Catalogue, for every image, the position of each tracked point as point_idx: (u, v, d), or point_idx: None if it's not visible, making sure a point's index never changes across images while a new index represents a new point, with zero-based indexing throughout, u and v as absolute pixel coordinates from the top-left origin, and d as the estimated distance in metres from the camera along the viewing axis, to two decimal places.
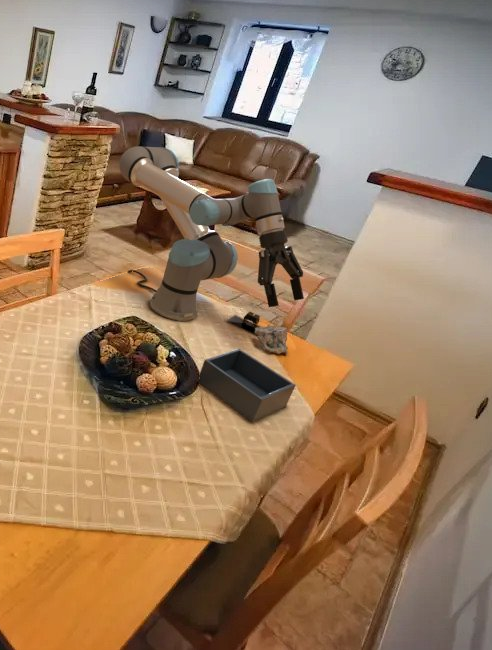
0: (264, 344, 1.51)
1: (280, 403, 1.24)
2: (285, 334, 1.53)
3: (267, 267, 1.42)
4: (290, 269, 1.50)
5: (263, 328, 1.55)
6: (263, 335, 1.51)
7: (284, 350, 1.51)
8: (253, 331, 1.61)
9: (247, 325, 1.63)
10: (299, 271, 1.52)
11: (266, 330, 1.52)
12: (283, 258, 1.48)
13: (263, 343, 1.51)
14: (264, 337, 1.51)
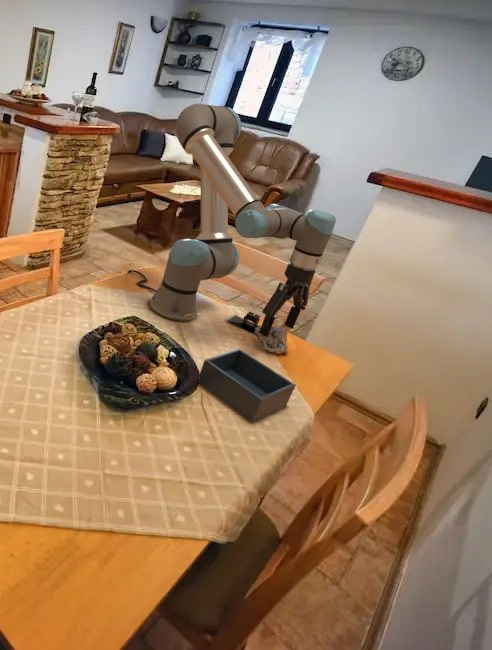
0: (264, 344, 1.51)
1: (280, 403, 1.24)
2: (285, 334, 1.53)
3: (278, 303, 1.41)
4: (297, 300, 1.50)
5: None
6: (263, 335, 1.51)
7: (284, 350, 1.51)
8: (253, 331, 1.61)
9: (247, 325, 1.63)
10: (304, 303, 1.52)
11: None
12: (297, 292, 1.46)
13: (263, 343, 1.51)
14: (264, 337, 1.51)
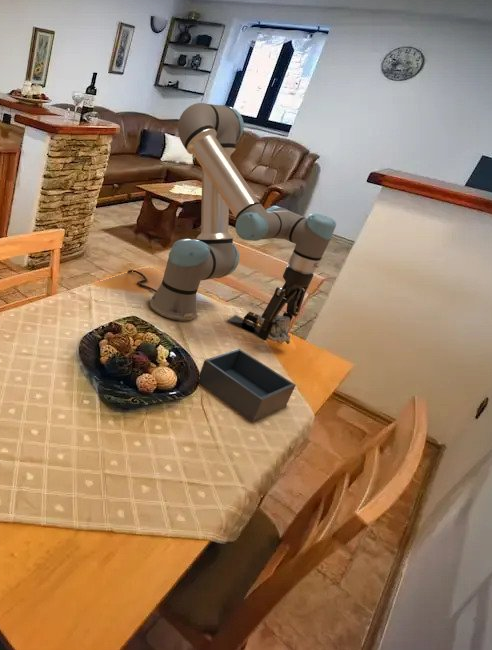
0: None
1: (280, 403, 1.24)
2: (288, 323, 1.51)
3: (276, 307, 1.43)
4: (291, 305, 1.50)
5: None
6: None
7: (287, 339, 1.50)
8: (253, 331, 1.61)
9: (247, 325, 1.63)
10: (297, 309, 1.52)
11: None
12: (295, 295, 1.46)
13: None
14: None
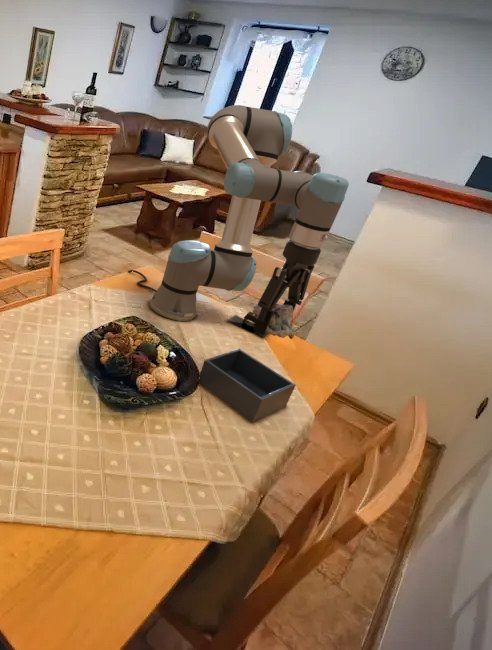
0: None
1: (280, 403, 1.24)
2: (291, 313, 1.23)
3: (276, 292, 1.14)
4: (294, 291, 1.22)
5: None
6: None
7: (290, 333, 1.21)
8: (253, 331, 1.61)
9: (247, 325, 1.63)
10: (301, 295, 1.24)
11: None
12: (298, 277, 1.18)
13: None
14: None
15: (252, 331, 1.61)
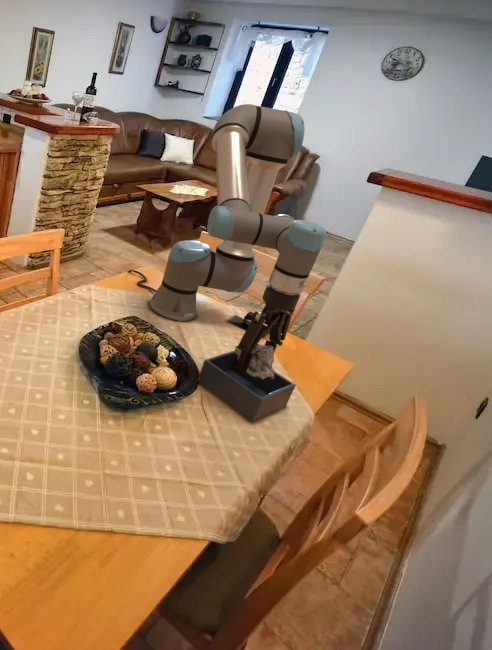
0: None
1: (280, 403, 1.24)
2: (271, 354, 1.24)
3: (255, 336, 1.16)
4: (275, 332, 1.23)
5: None
6: None
7: (270, 374, 1.22)
8: None
9: (247, 325, 1.63)
10: (282, 336, 1.25)
11: None
12: (278, 320, 1.19)
13: None
14: None
15: None
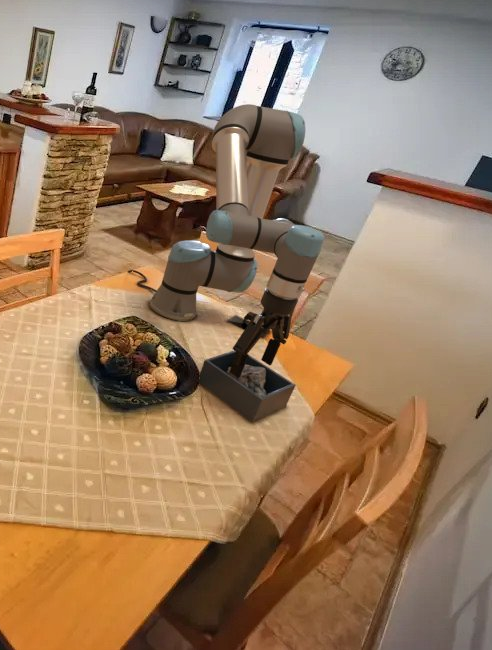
0: None
1: (280, 403, 1.24)
2: (263, 376, 1.27)
3: (252, 338, 1.15)
4: (276, 333, 1.24)
5: None
6: (236, 378, 1.26)
7: (262, 396, 1.26)
8: None
9: (247, 325, 1.64)
10: (285, 335, 1.26)
11: None
12: (276, 324, 1.20)
13: None
14: (238, 380, 1.26)
15: None
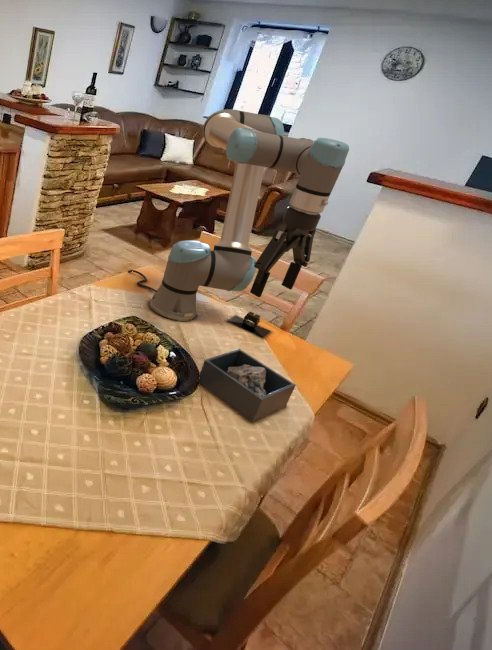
0: None
1: (280, 403, 1.24)
2: (263, 376, 1.27)
3: (274, 254, 1.15)
4: (298, 254, 1.24)
5: (237, 368, 1.29)
6: (236, 378, 1.26)
7: (262, 396, 1.26)
8: (253, 331, 1.61)
9: (247, 325, 1.64)
10: (306, 258, 1.26)
11: (240, 371, 1.27)
12: (298, 243, 1.19)
13: None
14: (238, 380, 1.26)
15: (252, 331, 1.61)
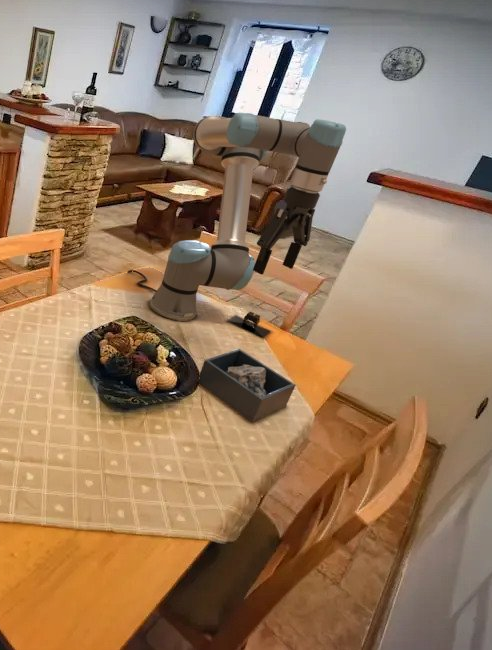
0: None
1: (280, 403, 1.24)
2: (263, 376, 1.27)
3: (276, 232, 1.20)
4: (298, 234, 1.29)
5: (237, 368, 1.29)
6: (236, 378, 1.26)
7: (262, 396, 1.26)
8: (253, 331, 1.61)
9: (247, 325, 1.64)
10: (306, 238, 1.31)
11: (240, 371, 1.27)
12: (298, 222, 1.25)
13: None
14: (238, 380, 1.26)
15: (252, 331, 1.61)
